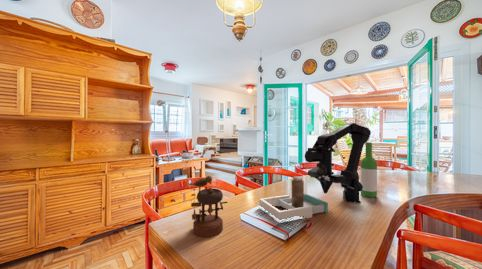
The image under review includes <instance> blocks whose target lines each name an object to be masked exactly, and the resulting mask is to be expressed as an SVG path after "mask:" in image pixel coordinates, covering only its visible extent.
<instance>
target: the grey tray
mask: <svg viewBox="0 0 482 269" xmlns="http://www.w3.org/2000/svg"><path fill="white" fill-rule="evenodd" d="M279 204H280V206H279V207H281V208H284V209H285V208H286V209H285V210H287V209H293V208H295V207H293V206H292V197H290V198H285V199H279ZM305 206H312V215H314V214H320V213H328V212H329V203H328V202H326V201H324V200H322V199H320V198H317V197H315V196H312V195H310V194H308V193H305V192H304V207H305Z"/></svg>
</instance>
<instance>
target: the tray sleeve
mask: <svg viewBox="0 0 482 269" xmlns="http://www.w3.org/2000/svg"><path fill="white" fill-rule="evenodd" d="M285 198H291V197H290V195H289V194H284V195H277V196H276V195H275V196H269V197H263V198H259V201H258V202H259V206H261V207H263V208H264V209H265V210H267V211H268V212H269V213H271V214H272V215H274V216H275V217H276V218H278V219H279V220H282V219H287V218H291V217H294V216H305V217H306V218H307V219H310V218H311V219H312V218H313V214H312V206H305V207H299V208H293V209H288V210H287V209H283V210H282V209H281V210H280V209H278V208H277V207H274V206H272V205H275V206H278V207H281V206H280V204H279V199H285ZM259 206H258V207H259Z"/></svg>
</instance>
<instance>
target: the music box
mask: <svg viewBox="0 0 482 269" xmlns="http://www.w3.org/2000/svg"><path fill="white" fill-rule="evenodd" d="M212 181H213V177H212V176H210V175H207V176H206V177H202V178H199V179H197V180H196V181H194V182H192V183H191V182H190V183H188V186H189V187H190V186H191V187H192V186H194V188H193V190H194V198H193V202H191V203H190V208H193V207H194V209H193V213H192V214H191V220H192V221H193V222H192V223H193V225H192V226H193V231H192V232H193V234H194V236H196V237H199V238H204V239H207V238H208V239H209V238H214V237H217V236H219V235H220V234H221V233H222V232H223V228H224V225H223V224H224V223H223V222H224V221H223V218H222V217H220V215H219V212H218V211H221V210H222V211H223V210H224V207H223V204H228V201H222V200H223V197H224V196H223V195H224V194H223V192H222V190H221V189H218V188H213V187H212V186H208V188H204V189H201V187H205V186H207V185H208V184H210V185H213V183H212ZM196 187H198V192H197V195H195V194H196V192H195V191H196ZM195 196H196V198H195ZM195 200H197V201H196V202H195ZM213 205H214V208H213ZM219 205H220V207H219ZM206 206H208V208H207V209H205V208H206ZM195 207H201V208H199V210H198V213H196V208H195ZM213 212H214V214H212V213H213ZM207 213H208V214H207Z"/></svg>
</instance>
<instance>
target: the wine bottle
mask: <svg viewBox="0 0 482 269" xmlns="http://www.w3.org/2000/svg"><path fill="white" fill-rule="evenodd" d="M360 183H361V184H362V186H363V189H362V190H361V191H360V195H361V196H363V197H366V198H376V197H377V196H378V162H377V160H376V159H375V158H374V157H373V143H372V142H368V141H367V142H366V143H365V156H364V157H363V158H361V159H360Z"/></svg>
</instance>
